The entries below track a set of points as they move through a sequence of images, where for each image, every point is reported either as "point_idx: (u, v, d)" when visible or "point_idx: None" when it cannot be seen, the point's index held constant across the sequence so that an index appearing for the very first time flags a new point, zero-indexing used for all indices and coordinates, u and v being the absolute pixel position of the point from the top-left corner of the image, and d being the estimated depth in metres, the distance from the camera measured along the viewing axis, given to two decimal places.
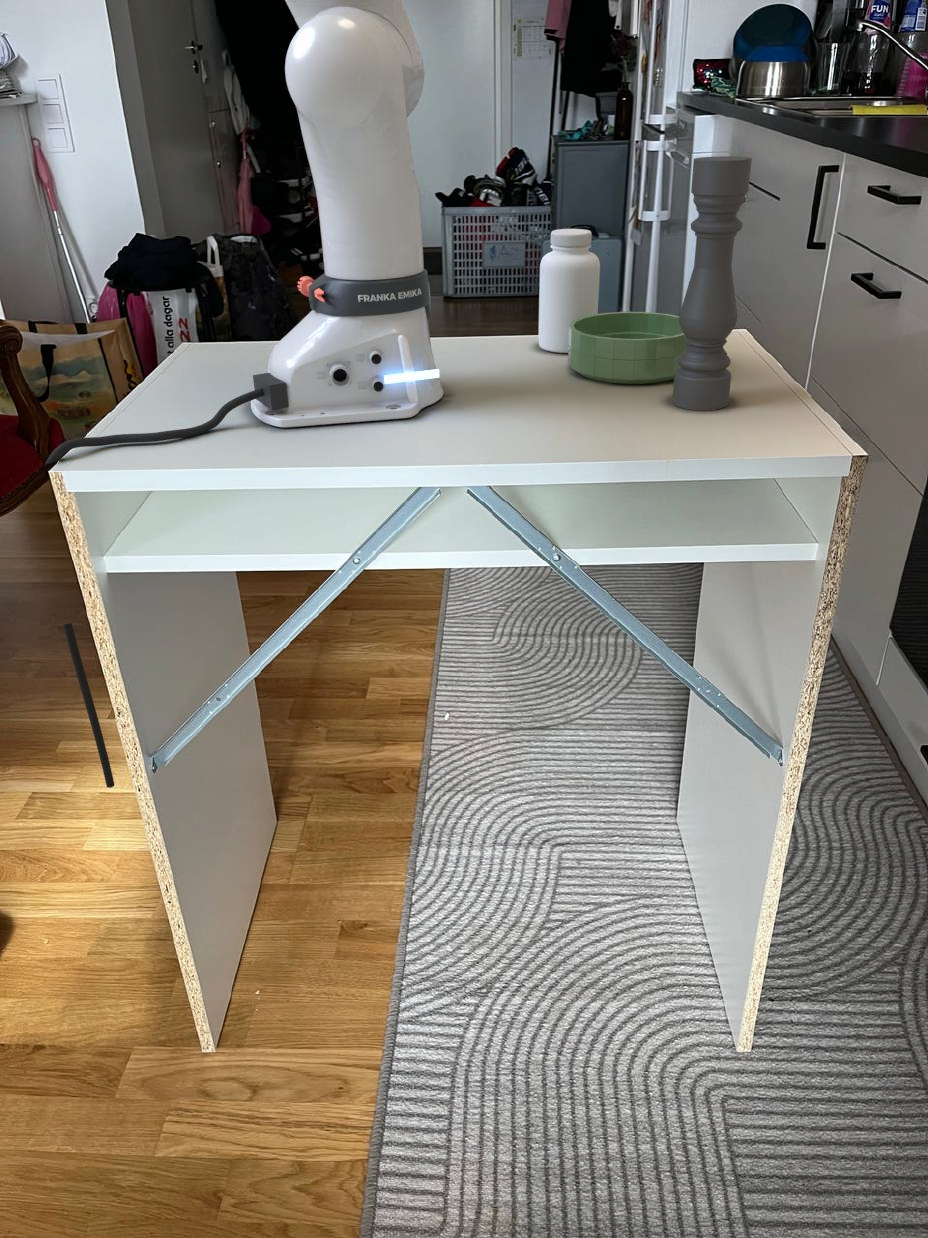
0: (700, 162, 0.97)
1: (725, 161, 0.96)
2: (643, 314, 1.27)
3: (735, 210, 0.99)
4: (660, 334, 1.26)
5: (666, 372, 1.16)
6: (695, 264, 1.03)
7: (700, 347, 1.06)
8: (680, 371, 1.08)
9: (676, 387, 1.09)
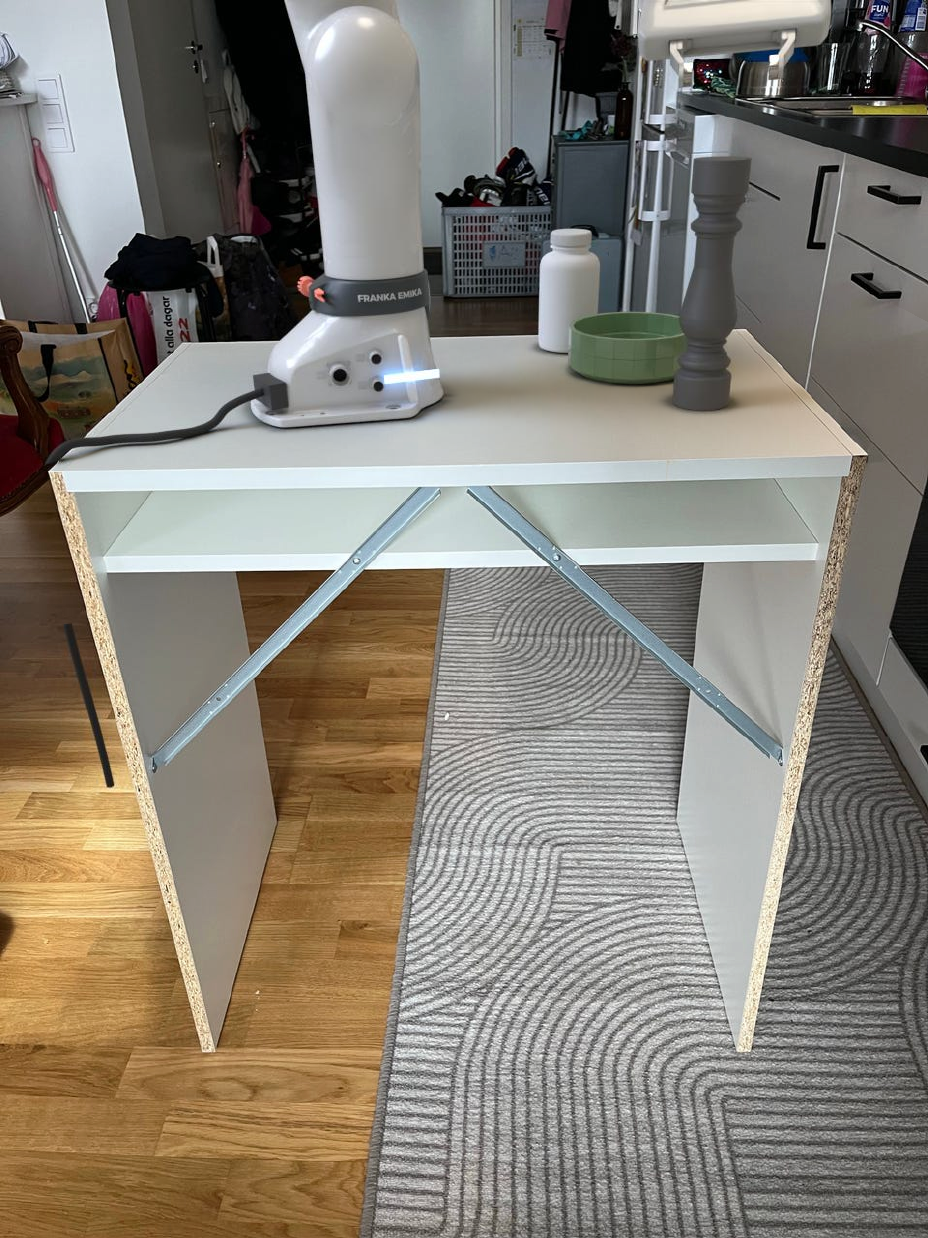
0: (700, 162, 0.97)
1: (725, 161, 0.96)
2: (643, 314, 1.27)
3: (735, 210, 0.99)
4: (660, 334, 1.26)
5: (666, 372, 1.16)
6: (695, 264, 1.03)
7: (700, 347, 1.06)
8: (680, 371, 1.08)
9: (676, 387, 1.09)
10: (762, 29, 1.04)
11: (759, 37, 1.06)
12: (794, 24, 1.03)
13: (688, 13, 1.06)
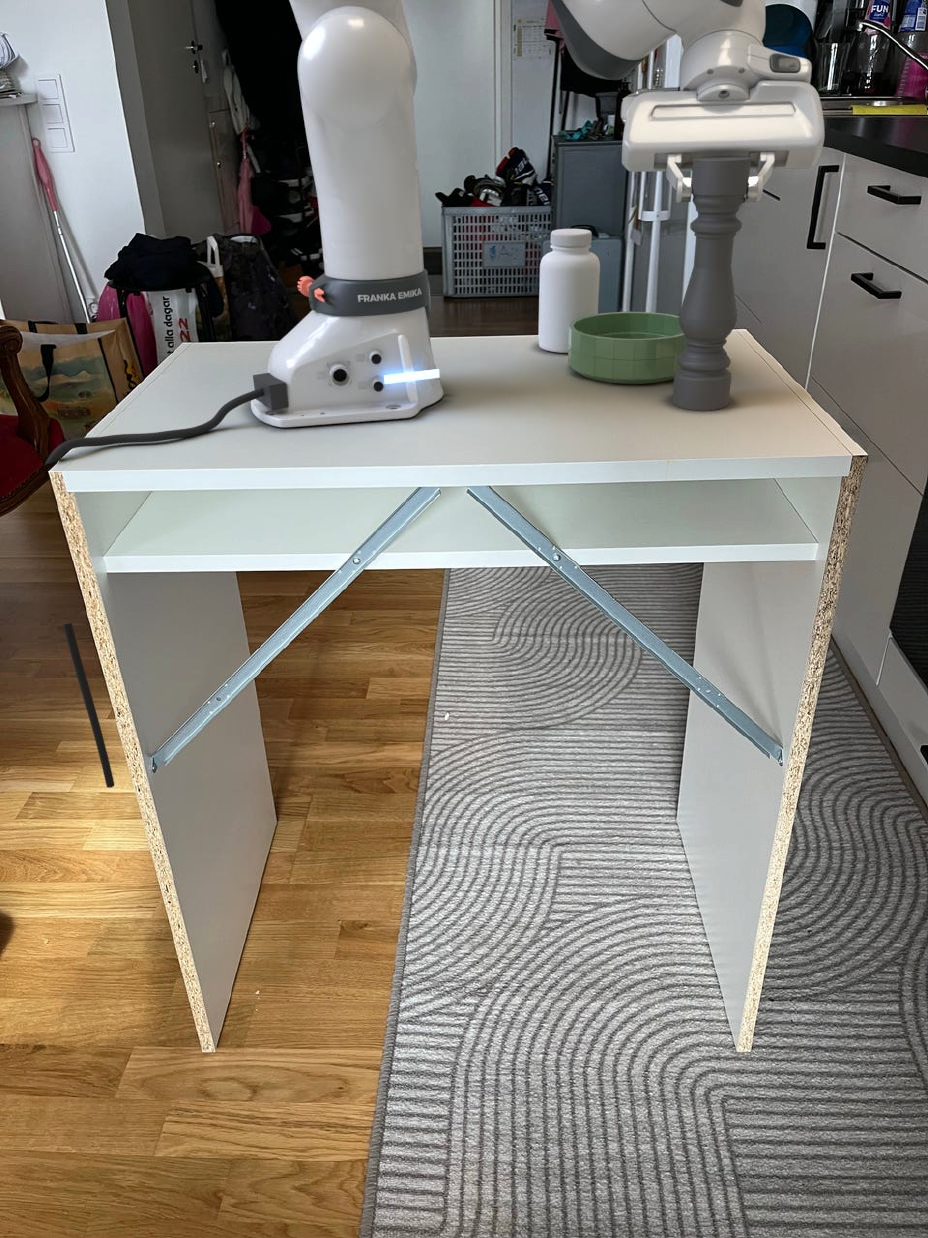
0: (700, 163, 0.97)
1: (724, 161, 0.96)
2: (643, 314, 1.27)
3: (734, 210, 0.99)
4: (660, 334, 1.26)
5: (666, 372, 1.16)
6: (695, 264, 1.03)
7: (699, 347, 1.06)
8: (680, 371, 1.08)
9: (676, 387, 1.09)
10: (753, 149, 0.99)
11: (748, 156, 1.01)
12: (786, 146, 0.98)
13: (675, 127, 1.00)
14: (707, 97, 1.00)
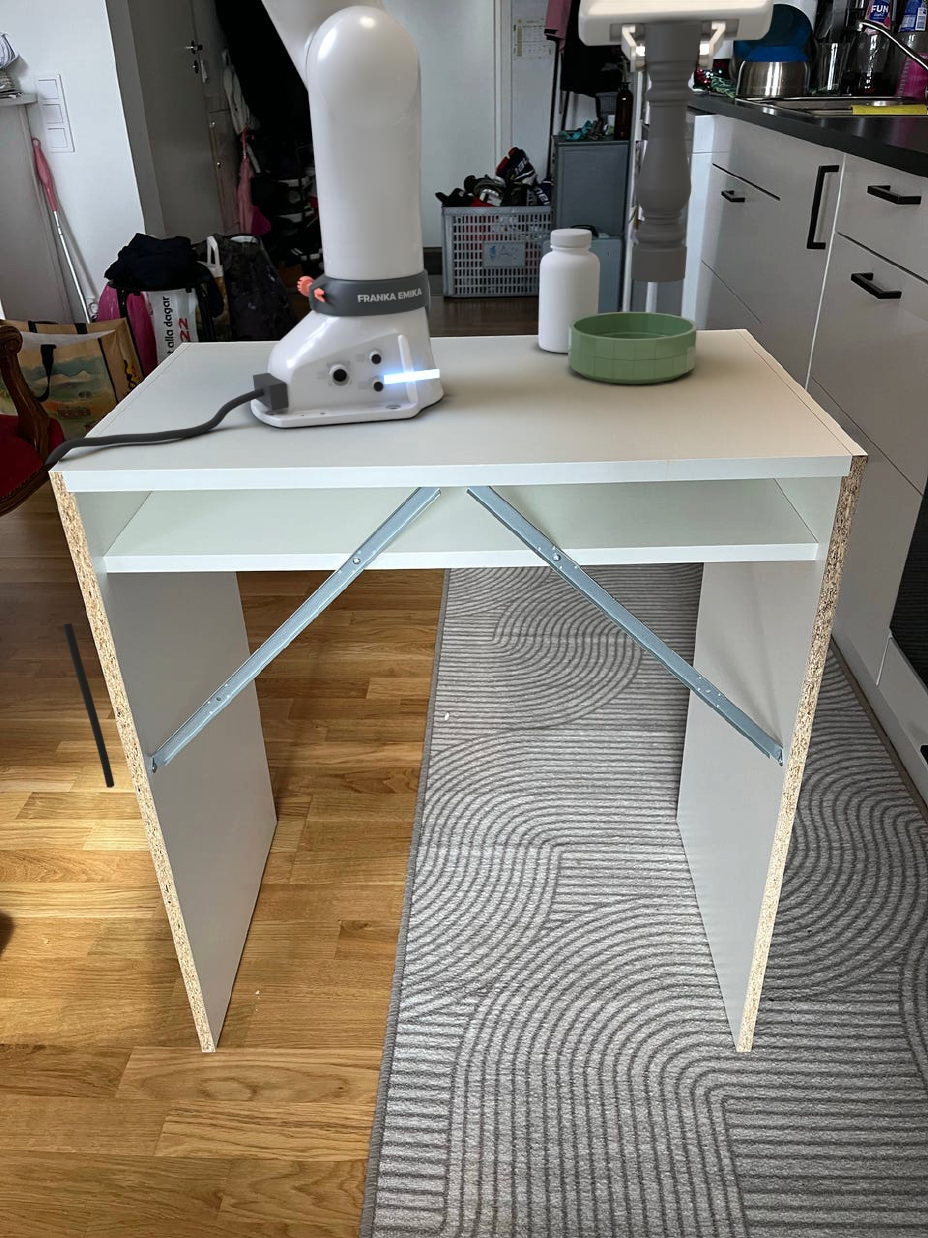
0: (652, 28, 1.00)
1: (675, 25, 0.99)
2: (643, 314, 1.27)
3: (686, 77, 1.02)
4: (660, 334, 1.26)
5: (666, 372, 1.16)
6: (649, 134, 1.06)
7: (655, 219, 1.09)
8: (638, 245, 1.11)
9: (633, 261, 1.12)
10: (704, 17, 1.02)
11: None
12: (736, 14, 1.01)
13: None
14: None
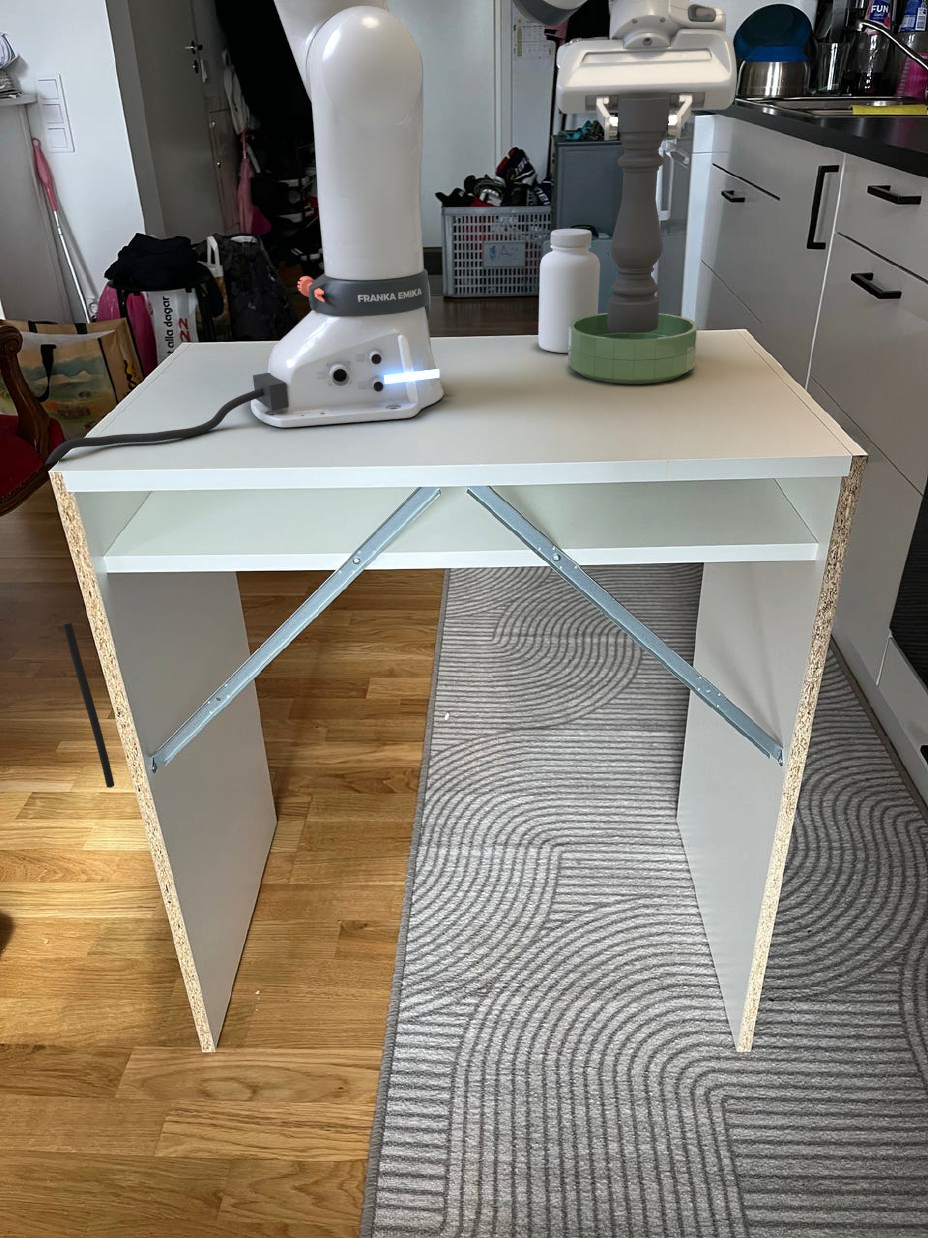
0: (623, 102, 1.08)
1: (645, 100, 1.06)
2: None
3: (656, 145, 1.10)
4: (660, 334, 1.26)
5: (666, 372, 1.16)
6: (623, 197, 1.14)
7: (629, 274, 1.16)
8: (613, 297, 1.19)
9: (609, 312, 1.19)
10: (673, 90, 1.09)
11: (670, 98, 1.11)
12: (703, 88, 1.09)
13: (604, 71, 1.11)
14: (632, 44, 1.11)
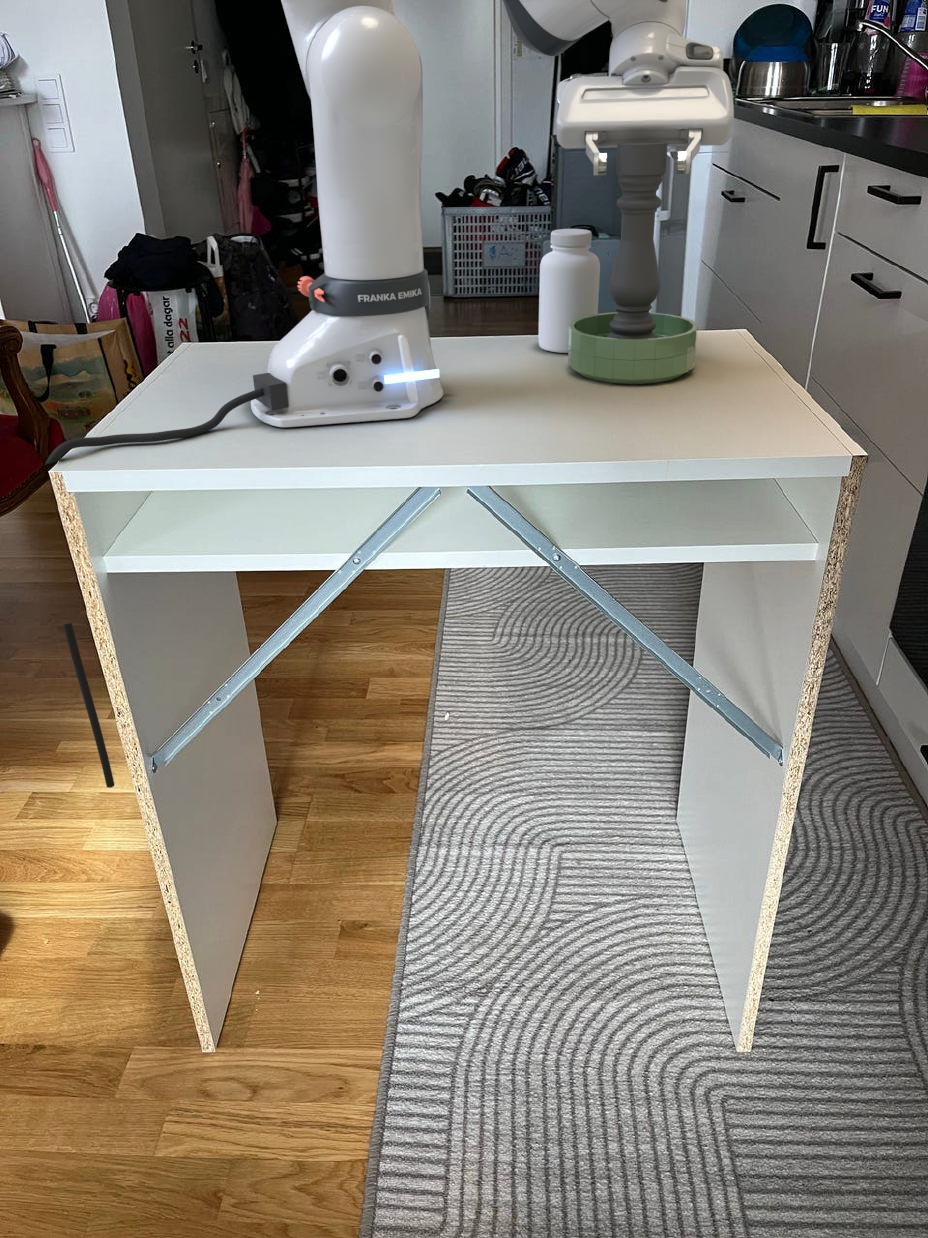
0: (622, 146, 1.10)
1: (643, 145, 1.09)
2: None
3: (654, 188, 1.12)
4: (660, 334, 1.26)
5: (666, 372, 1.16)
6: (621, 237, 1.16)
7: (627, 312, 1.18)
8: (611, 334, 1.21)
9: None
10: (671, 127, 1.11)
11: (668, 134, 1.13)
12: (700, 125, 1.11)
13: (603, 108, 1.13)
14: (631, 81, 1.13)
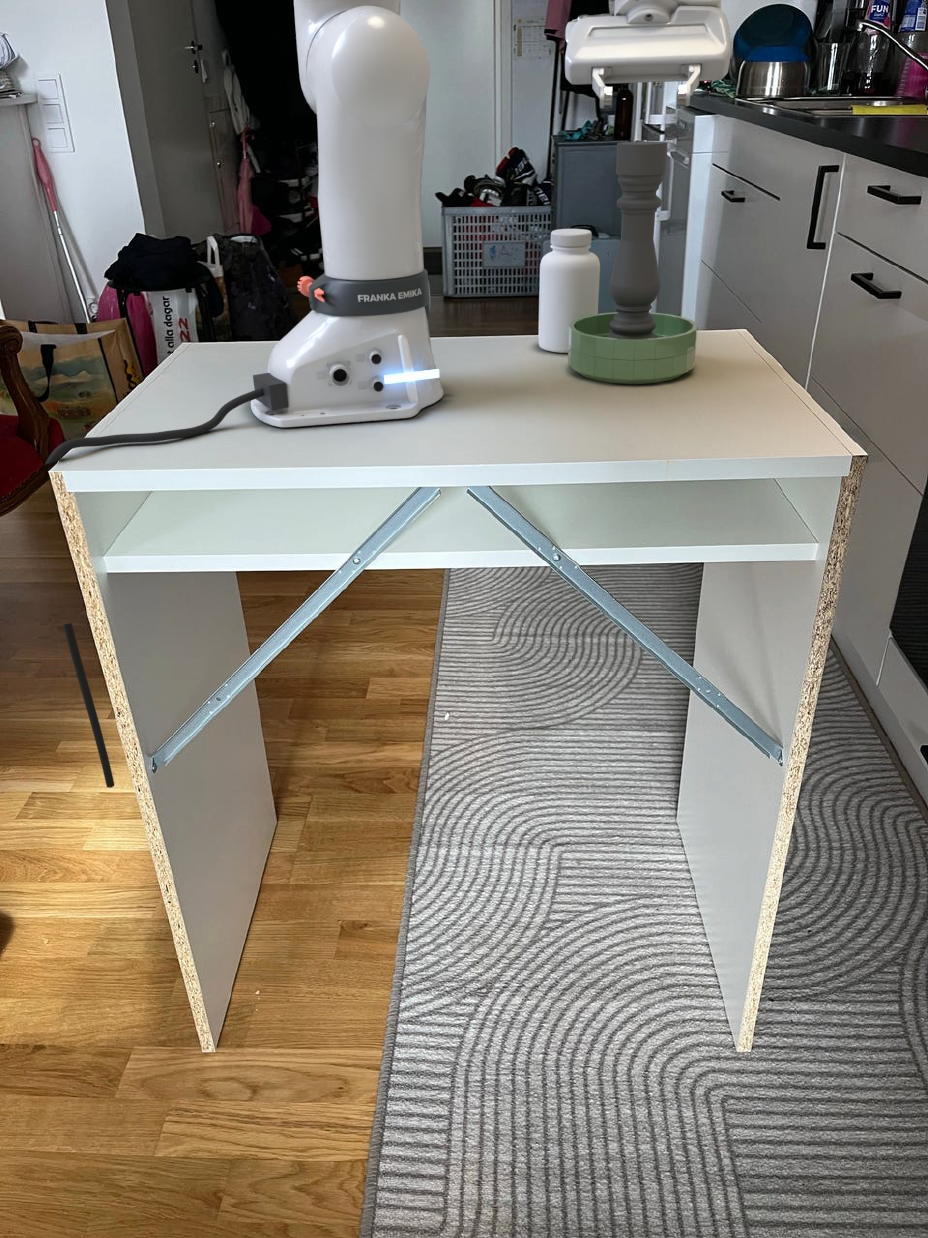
0: (622, 146, 1.10)
1: (643, 145, 1.09)
2: None
3: (654, 188, 1.12)
4: (660, 334, 1.26)
5: (666, 372, 1.16)
6: (621, 237, 1.16)
7: (627, 312, 1.18)
8: (611, 334, 1.21)
9: None
10: (672, 62, 1.19)
11: (669, 69, 1.21)
12: (699, 59, 1.19)
13: (609, 44, 1.21)
14: (635, 20, 1.21)
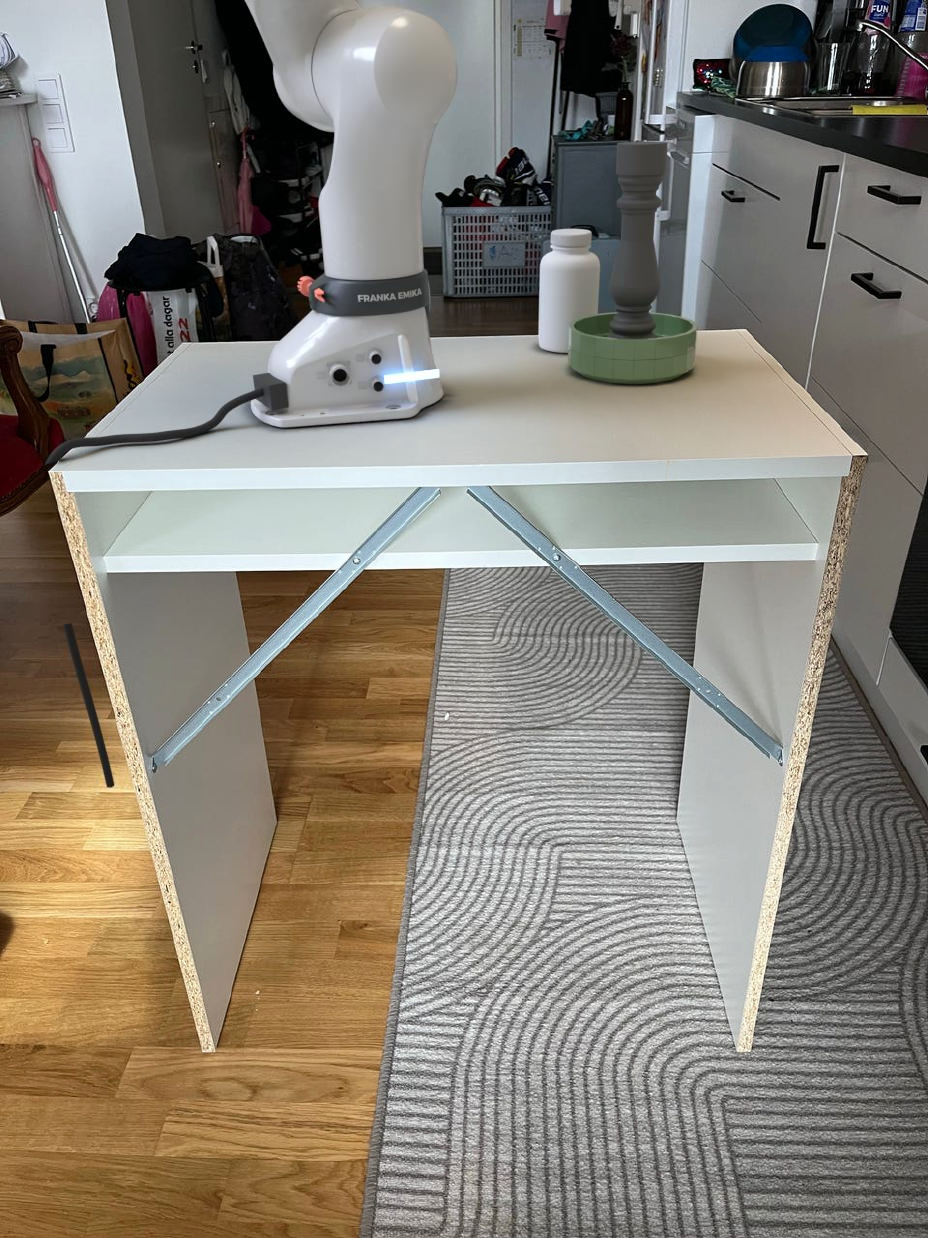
0: (622, 146, 1.10)
1: (643, 145, 1.09)
2: None
3: (654, 188, 1.12)
4: (660, 334, 1.26)
5: (666, 372, 1.16)
6: (621, 237, 1.16)
7: (627, 312, 1.18)
8: (611, 334, 1.21)
9: None
10: None
11: None
12: None
13: None
14: None
